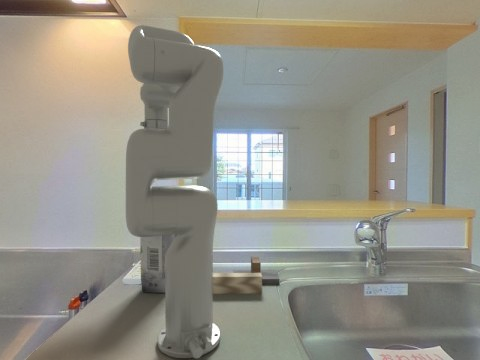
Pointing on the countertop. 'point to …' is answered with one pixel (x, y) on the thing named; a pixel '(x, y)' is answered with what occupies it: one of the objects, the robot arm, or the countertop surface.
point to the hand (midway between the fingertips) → (156, 177)
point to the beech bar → (237, 283)
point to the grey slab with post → (261, 271)
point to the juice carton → (154, 262)
